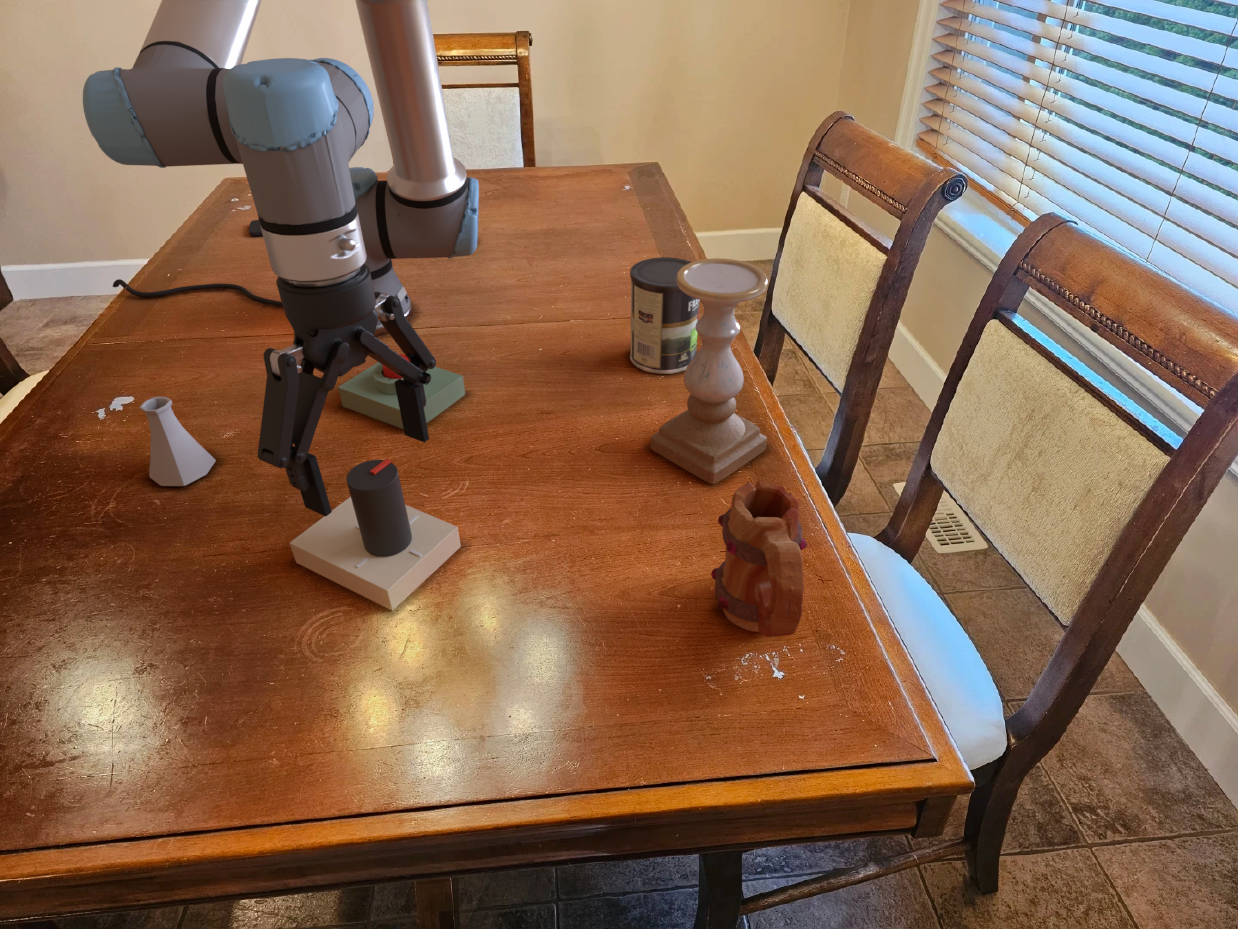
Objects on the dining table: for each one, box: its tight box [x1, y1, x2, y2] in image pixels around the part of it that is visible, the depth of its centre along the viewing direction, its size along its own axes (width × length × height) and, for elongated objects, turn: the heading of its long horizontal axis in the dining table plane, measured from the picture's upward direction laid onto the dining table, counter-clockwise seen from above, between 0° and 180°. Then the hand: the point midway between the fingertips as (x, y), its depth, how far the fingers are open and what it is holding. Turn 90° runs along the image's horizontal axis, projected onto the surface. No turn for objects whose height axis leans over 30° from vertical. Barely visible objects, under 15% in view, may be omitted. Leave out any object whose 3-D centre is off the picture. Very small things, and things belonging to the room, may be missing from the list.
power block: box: [337, 361, 466, 430], centre depth 111 cm, size 13×11×5 cm
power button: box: [382, 353, 410, 379], centre depth 109 cm, size 4×4×2 cm
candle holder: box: [649, 257, 769, 485], centre depth 96 cm, size 11×11×24 cm
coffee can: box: [629, 256, 701, 375], centre depth 117 cm, size 10×10×14 cm
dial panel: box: [289, 496, 462, 612], centre depth 87 cm, size 14×11×3 cm
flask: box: [139, 396, 217, 487], centre depth 97 cm, size 7×7×10 cm
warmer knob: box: [345, 458, 412, 557], centre depth 82 cm, size 5×5×9 cm
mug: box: [710, 480, 808, 638], centre depth 75 cm, size 15×8×15 cm, turn 5°
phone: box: [248, 219, 263, 237], centre depth 164 cm, size 7×1×15 cm
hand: (370, 471), depth 79 cm, fingers open, 13 cm apart
